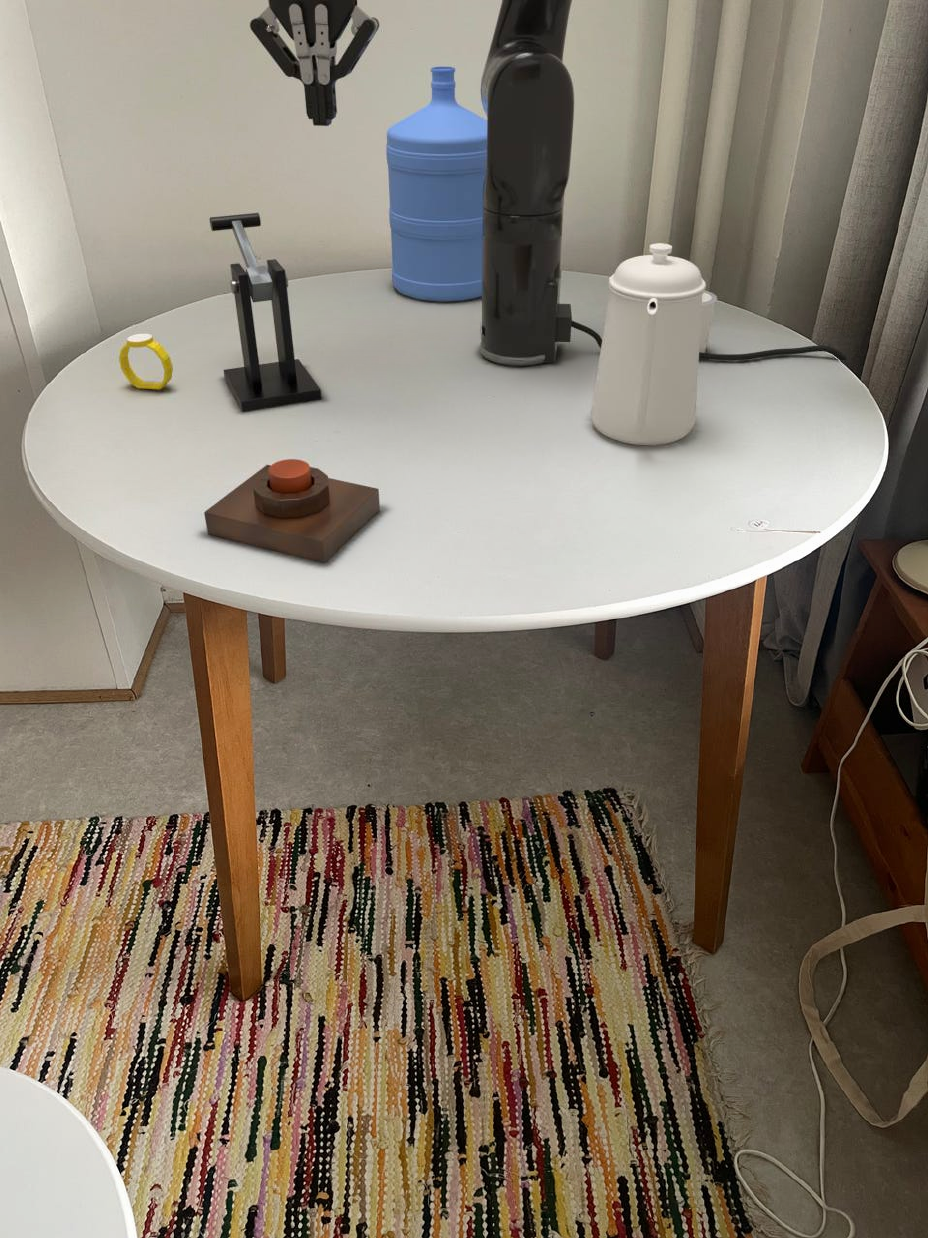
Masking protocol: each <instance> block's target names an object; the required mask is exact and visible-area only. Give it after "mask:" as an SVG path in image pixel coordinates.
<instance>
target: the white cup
mask: <svg viewBox="0 0 928 1238" xmlns="http://www.w3.org/2000/svg"><path fill="white" fill-rule="evenodd" d="M717 302H718V296H717V295H716V294H715V293H713V292H712V291H711V292H710V291H708V290H705V292H704V294H703V295H702V312H701V328H700V345H699V352H701V353H706V349H707V343H708V340H709V336H710V333H711V329H712V328H711V327H712V323H713V320H714V315H715V311H716V306H717Z"/></svg>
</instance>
